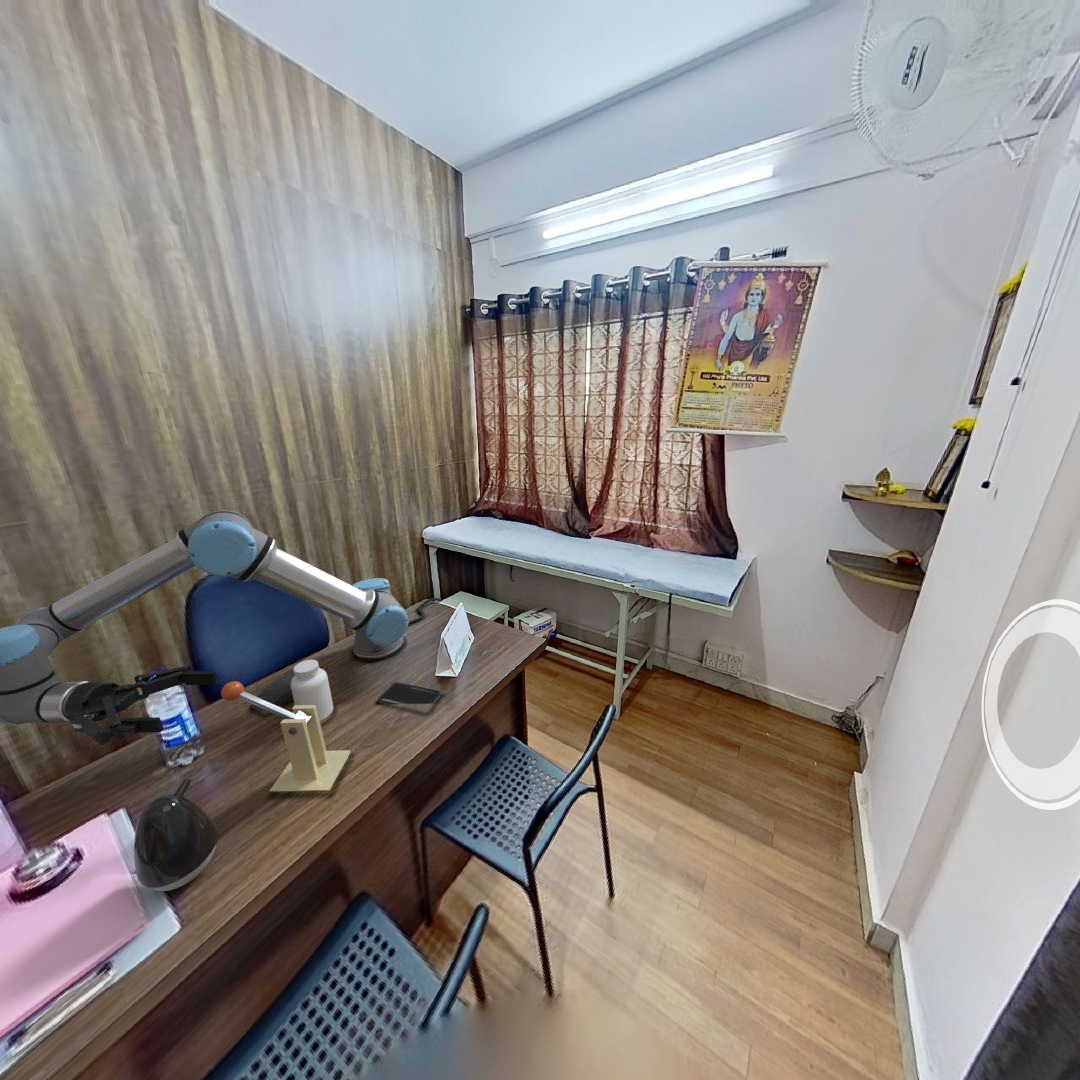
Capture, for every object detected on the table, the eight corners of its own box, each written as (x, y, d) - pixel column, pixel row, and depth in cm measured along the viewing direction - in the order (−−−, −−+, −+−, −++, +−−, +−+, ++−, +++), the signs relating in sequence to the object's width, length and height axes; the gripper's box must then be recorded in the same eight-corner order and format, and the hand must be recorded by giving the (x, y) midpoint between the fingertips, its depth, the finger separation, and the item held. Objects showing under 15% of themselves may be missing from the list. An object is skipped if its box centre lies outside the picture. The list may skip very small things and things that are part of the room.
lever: (214, 699, 80) (219, 686, 79) (227, 687, 83) (233, 674, 82) (298, 736, 82) (305, 724, 81) (308, 723, 86) (314, 711, 85)
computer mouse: (316, 687, 115) (313, 675, 114) (265, 718, 104) (262, 705, 103) (299, 678, 119) (296, 666, 118) (248, 707, 108) (244, 695, 107)
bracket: (270, 796, 83) (252, 732, 78) (298, 756, 92) (283, 697, 88) (330, 795, 83) (315, 731, 78) (352, 755, 92) (339, 696, 87)
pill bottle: (320, 730, 100) (308, 677, 95) (291, 725, 101) (278, 673, 97) (341, 707, 107) (331, 657, 103) (314, 703, 109) (303, 654, 104)
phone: (425, 711, 103) (376, 699, 108) (426, 714, 104) (377, 702, 108) (442, 691, 111) (395, 680, 115) (443, 694, 111) (396, 684, 116)
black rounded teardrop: (238, 838, 75) (215, 773, 70) (189, 904, 65) (159, 834, 60) (184, 837, 75) (158, 772, 71) (127, 903, 65) (93, 832, 61)
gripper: (146, 678, 95) (238, 676, 95) (15, 768, 71) (137, 766, 71) (136, 649, 93) (230, 648, 93) (-3, 733, 69) (123, 731, 69)
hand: (190, 699), depth 82 cm, fingers open, 13 cm apart
